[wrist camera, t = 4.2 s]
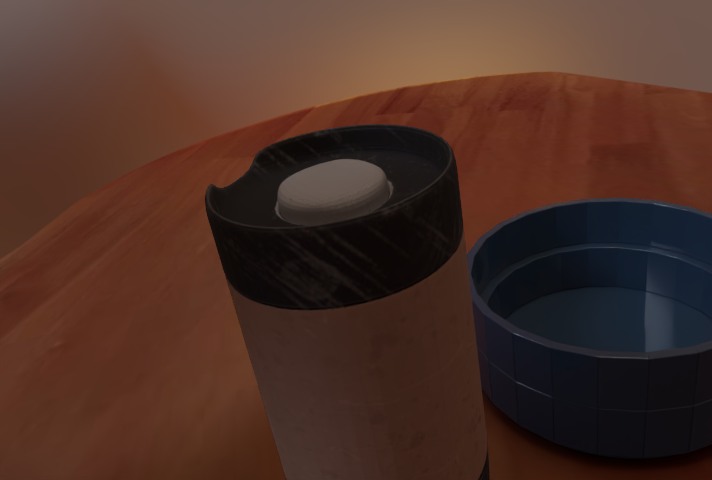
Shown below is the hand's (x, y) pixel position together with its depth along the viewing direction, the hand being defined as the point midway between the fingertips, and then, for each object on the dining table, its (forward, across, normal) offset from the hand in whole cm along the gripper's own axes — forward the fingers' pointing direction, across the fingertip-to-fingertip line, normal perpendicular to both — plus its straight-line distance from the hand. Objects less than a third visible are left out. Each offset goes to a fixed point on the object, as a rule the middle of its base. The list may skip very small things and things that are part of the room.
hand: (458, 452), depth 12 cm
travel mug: (+9, -1, -18) cm, 20 cm away
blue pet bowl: (+20, +14, -17) cm, 30 cm away
